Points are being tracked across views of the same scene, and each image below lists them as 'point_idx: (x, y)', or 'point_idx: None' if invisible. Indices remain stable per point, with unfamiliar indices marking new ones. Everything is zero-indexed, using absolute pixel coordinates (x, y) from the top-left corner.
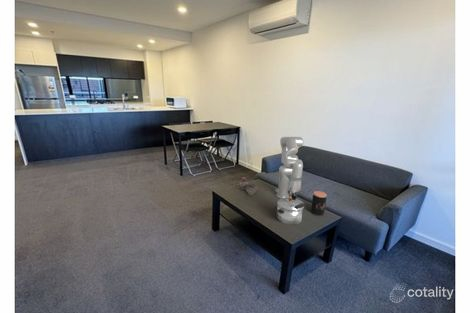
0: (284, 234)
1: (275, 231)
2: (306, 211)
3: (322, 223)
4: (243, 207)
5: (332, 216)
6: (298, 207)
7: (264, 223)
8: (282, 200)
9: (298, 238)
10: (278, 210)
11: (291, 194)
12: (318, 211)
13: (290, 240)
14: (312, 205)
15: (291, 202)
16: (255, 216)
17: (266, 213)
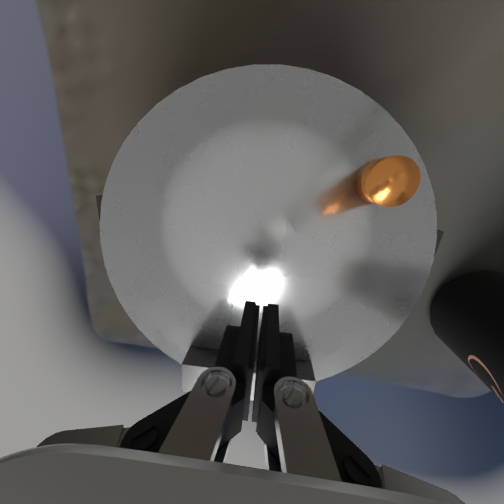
0: (108, 289)
1: (82, 245)
2: (441, 251)
3: (356, 367)
4: None
5: (477, 376)
6: None
7: (71, 144)
8: (238, 135)
9: (144, 344)
10: (99, 207)
11: (204, 371)
12: (450, 346)
13: (101, 329)
14: (492, 318)
15: (281, 256)
16: (61, 12)
17: (175, 45)
